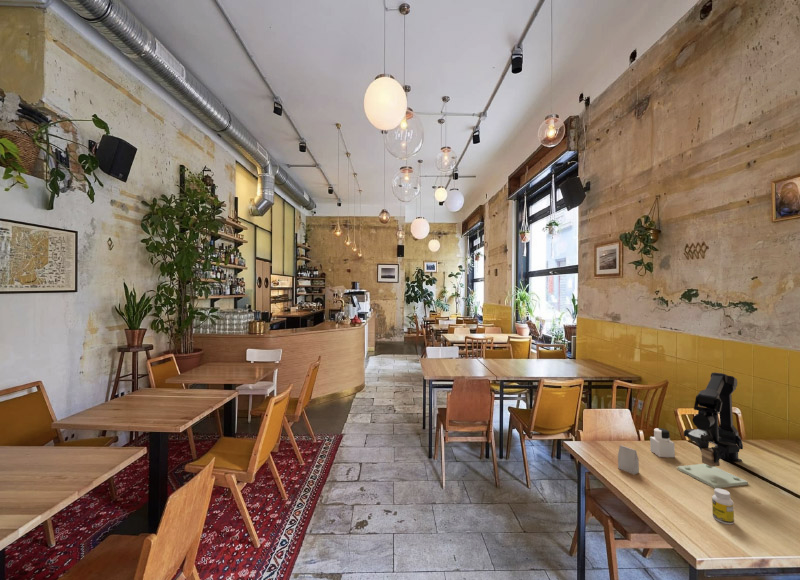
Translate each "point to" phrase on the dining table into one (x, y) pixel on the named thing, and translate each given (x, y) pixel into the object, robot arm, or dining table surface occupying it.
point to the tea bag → (628, 460)
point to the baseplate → (712, 475)
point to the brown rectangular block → (708, 457)
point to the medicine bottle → (662, 443)
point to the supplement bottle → (722, 506)
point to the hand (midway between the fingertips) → (710, 460)
